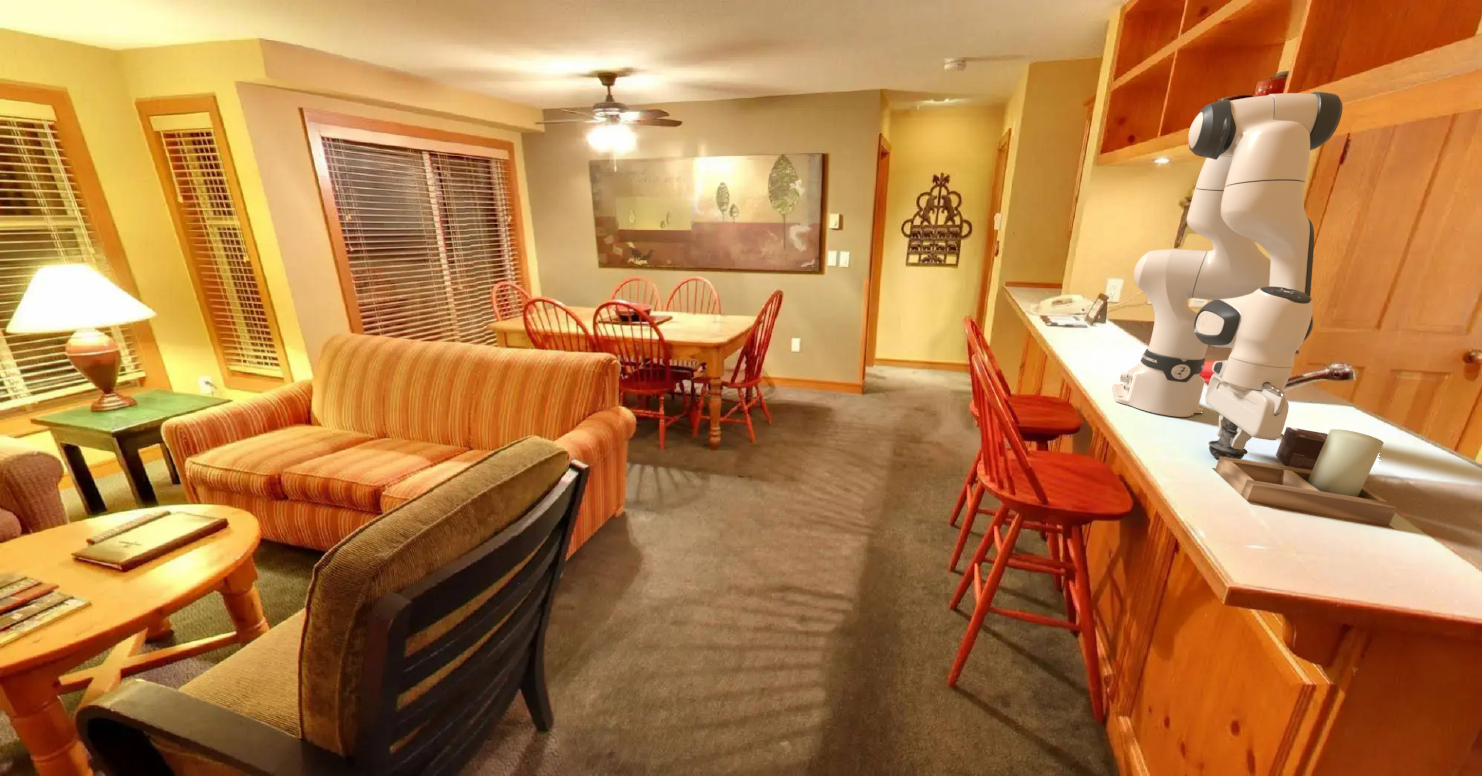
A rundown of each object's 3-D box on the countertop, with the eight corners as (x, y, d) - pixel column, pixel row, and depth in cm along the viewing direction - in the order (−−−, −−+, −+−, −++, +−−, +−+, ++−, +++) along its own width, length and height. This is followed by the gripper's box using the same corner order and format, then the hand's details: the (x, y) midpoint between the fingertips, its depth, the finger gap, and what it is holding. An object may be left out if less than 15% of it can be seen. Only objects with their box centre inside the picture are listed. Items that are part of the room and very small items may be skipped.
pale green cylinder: (1294, 488, 95) (1321, 426, 91) (1337, 495, 93) (1366, 432, 89) (1315, 505, 89) (1345, 440, 85) (1361, 513, 87) (1394, 447, 83)
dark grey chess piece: (1248, 472, 102) (1271, 414, 99) (1214, 468, 104) (1235, 411, 100) (1228, 458, 108) (1249, 403, 104) (1196, 455, 109) (1215, 400, 105)
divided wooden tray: (1210, 472, 102) (1217, 453, 100) (1332, 492, 96) (1341, 472, 95) (1248, 509, 89) (1257, 488, 88) (1392, 534, 84) (1403, 512, 82)
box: (1324, 479, 101) (1339, 444, 99) (1281, 470, 104) (1295, 435, 102) (1313, 467, 106) (1327, 433, 104) (1272, 458, 109) (1286, 425, 107)
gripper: (1310, 395, 89) (1280, 468, 94) (1247, 364, 108) (1224, 426, 112) (1264, 390, 91) (1236, 462, 96) (1209, 360, 110) (1188, 422, 114)
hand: (1229, 442), depth 104 cm, fingers closed on dark grey chess piece, 3 cm apart
